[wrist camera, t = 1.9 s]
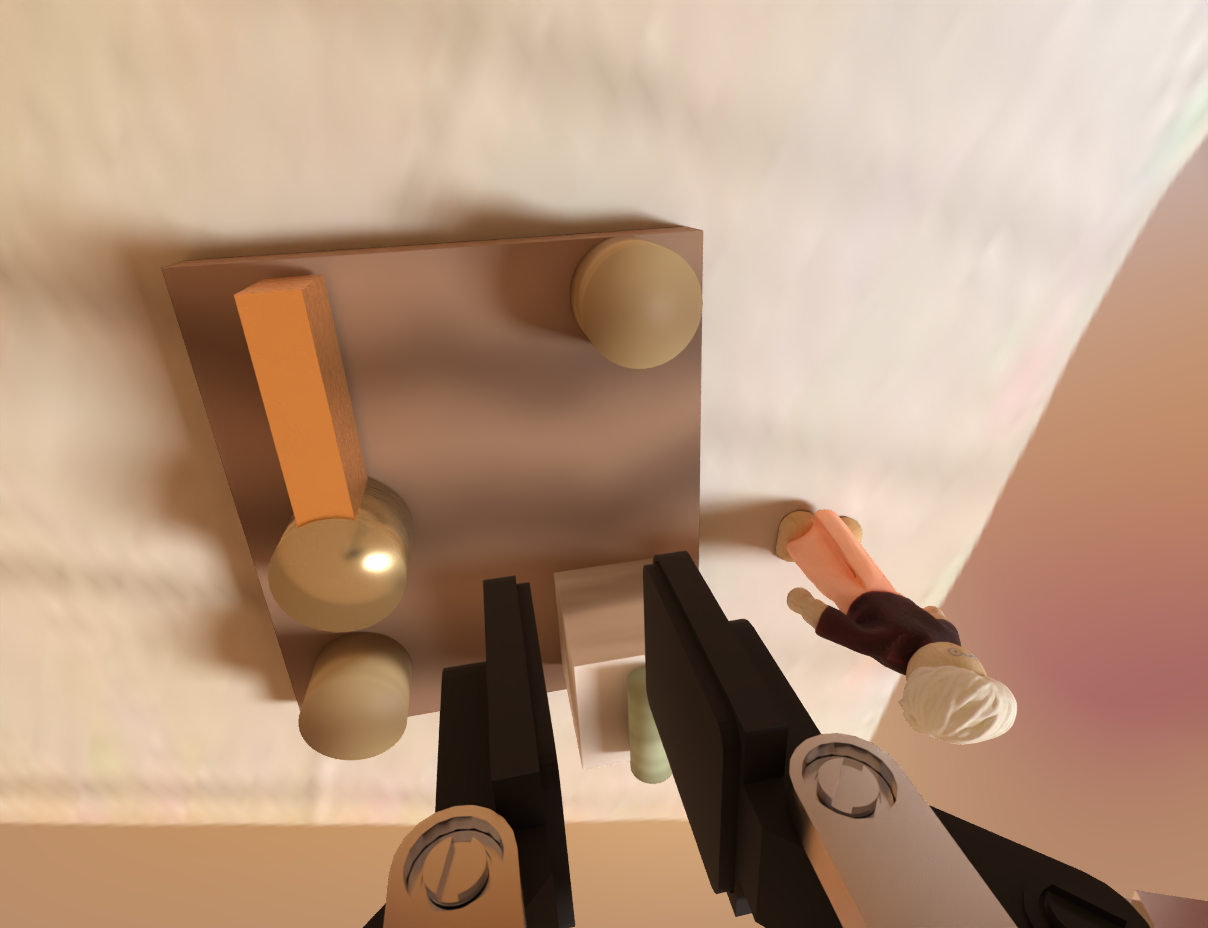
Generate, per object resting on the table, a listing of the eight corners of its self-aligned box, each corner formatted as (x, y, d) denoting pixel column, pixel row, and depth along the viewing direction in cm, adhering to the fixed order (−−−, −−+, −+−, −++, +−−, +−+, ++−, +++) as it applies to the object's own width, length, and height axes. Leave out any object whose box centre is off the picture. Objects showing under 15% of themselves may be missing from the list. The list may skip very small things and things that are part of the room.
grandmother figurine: (886, 500, 33) (1110, 675, 21) (867, 566, 34) (1068, 763, 23) (740, 501, 31) (899, 691, 20) (727, 571, 33) (868, 785, 21)
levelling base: (185, 260, 23) (14, 313, 14) (686, 226, 26) (799, 253, 17) (316, 701, 31) (259, 905, 22) (685, 639, 34) (760, 800, 25)
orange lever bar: (421, 567, 27) (416, 621, 24) (308, 583, 26) (286, 641, 23) (365, 270, 22) (348, 287, 19) (224, 280, 21) (180, 299, 18)
